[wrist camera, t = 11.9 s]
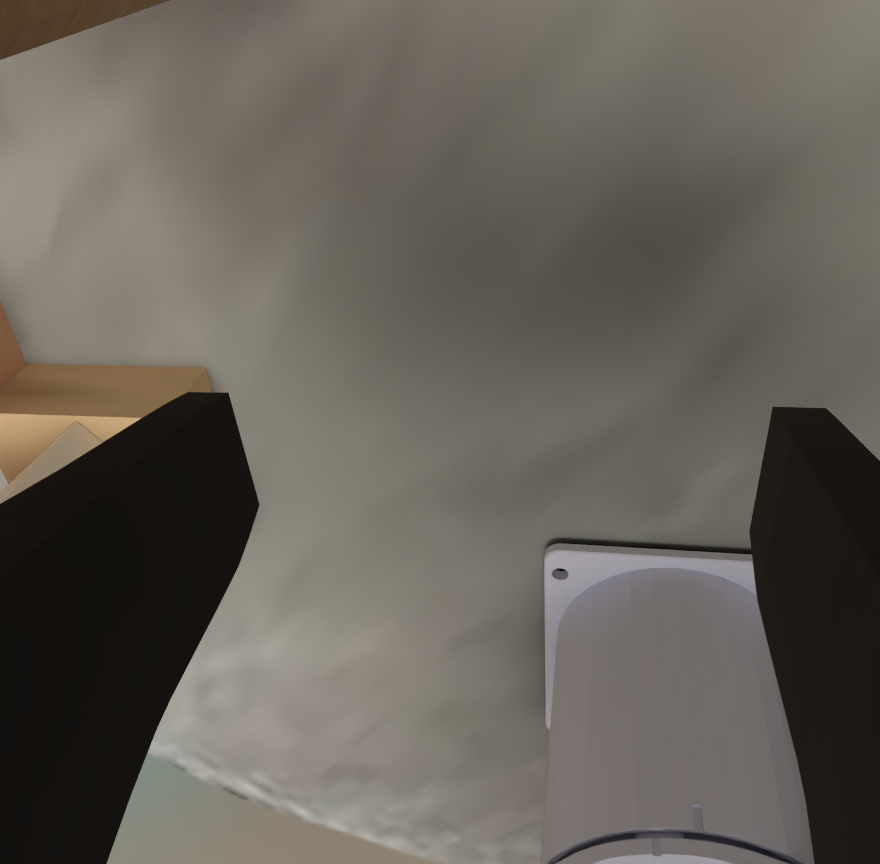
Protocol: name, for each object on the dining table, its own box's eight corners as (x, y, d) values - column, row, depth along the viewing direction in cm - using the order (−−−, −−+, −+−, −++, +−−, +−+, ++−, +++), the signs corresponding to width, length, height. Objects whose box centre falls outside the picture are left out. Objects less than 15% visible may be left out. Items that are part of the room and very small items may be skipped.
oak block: (252, 512, 28) (219, 575, 25) (95, 504, 29) (48, 563, 26) (209, 362, 24) (165, 418, 22) (32, 359, 25) (-28, 412, 23)
